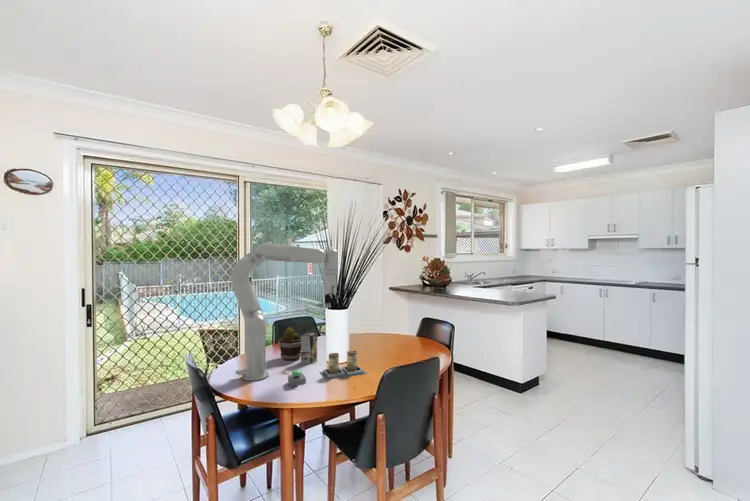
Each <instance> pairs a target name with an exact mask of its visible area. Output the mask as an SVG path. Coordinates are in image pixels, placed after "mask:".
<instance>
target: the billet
mask: <svg viewBox="0 0 750 501" xmlns="http://www.w3.org/2000/svg"><path fill="white" fill-rule="evenodd" d="M346 354H347V355H346V358H347V360H346V362H347V363H346V364H347V366H346V367H347V371H348V372H349V371H356V370H357V365H358V351H357V350H348V351H347V352H346Z"/></svg>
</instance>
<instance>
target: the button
mask: <svg viewBox="0 0 750 501" xmlns="http://www.w3.org/2000/svg"><path fill="white" fill-rule="evenodd" d="M302 372H303V371H302V370H301V369H293V370H292V371H291V375H293V376H295V378H298V377H299V375H301V374H302Z"/></svg>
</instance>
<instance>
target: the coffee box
mask: <svg viewBox="0 0 750 501" xmlns="http://www.w3.org/2000/svg"><path fill="white" fill-rule="evenodd" d="M300 337H301V357H300V359H301V360H300V365H304V366H308V365H309V366H310V365H313V364H315V363H316V362H317V361H318V332H306V333H304V334H303V335H300Z"/></svg>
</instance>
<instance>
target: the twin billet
mask: <svg viewBox="0 0 750 501" xmlns="http://www.w3.org/2000/svg"><path fill="white" fill-rule="evenodd" d="M339 357H340V354H339V353H338V352H330V353H329V354H328V369H329V374H334V373H339V368H340V366H339V365H340V364H339V362H340V360H339V359H340V358H339Z"/></svg>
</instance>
